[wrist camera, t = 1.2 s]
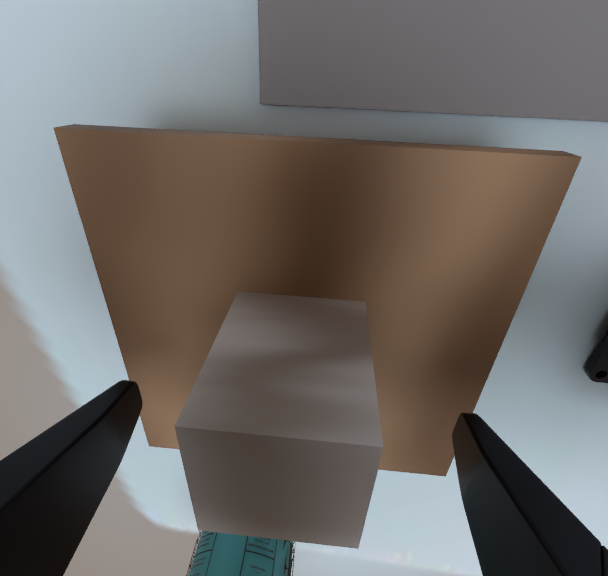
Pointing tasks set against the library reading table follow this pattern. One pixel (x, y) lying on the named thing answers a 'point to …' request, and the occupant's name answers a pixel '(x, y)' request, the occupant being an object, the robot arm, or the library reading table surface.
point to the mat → (438, 56)
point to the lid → (307, 304)
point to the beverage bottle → (241, 556)
